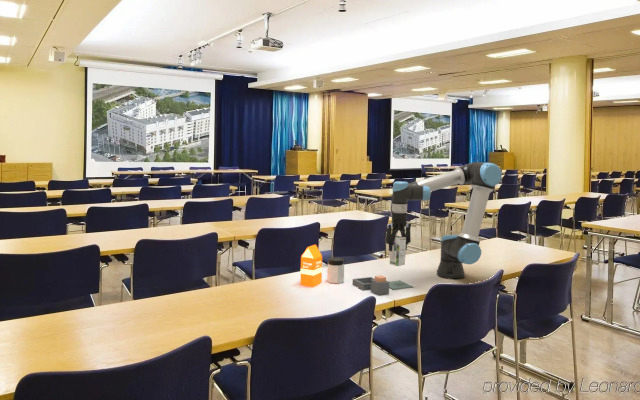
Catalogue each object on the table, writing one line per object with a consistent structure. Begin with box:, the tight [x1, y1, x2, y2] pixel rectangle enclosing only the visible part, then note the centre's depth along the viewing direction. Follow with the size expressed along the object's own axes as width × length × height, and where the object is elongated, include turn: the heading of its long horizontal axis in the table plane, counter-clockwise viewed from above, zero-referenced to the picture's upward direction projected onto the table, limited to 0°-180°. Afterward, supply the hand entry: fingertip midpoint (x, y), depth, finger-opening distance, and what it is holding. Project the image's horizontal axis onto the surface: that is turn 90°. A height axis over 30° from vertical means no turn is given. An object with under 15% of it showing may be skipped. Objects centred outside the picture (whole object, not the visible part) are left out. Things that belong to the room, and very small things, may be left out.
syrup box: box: [389, 235, 406, 267], centre depth 246 cm, size 6×6×14 cm
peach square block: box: [374, 275, 387, 282], centre depth 234 cm, size 4×4×4 cm
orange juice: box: [300, 244, 323, 288], centre depth 246 cm, size 8×9×20 cm
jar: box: [326, 256, 345, 284], centre depth 252 cm, size 9×8×12 cm
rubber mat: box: [389, 279, 414, 291], centre depth 248 cm, size 12×12×1 cm
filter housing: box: [352, 276, 390, 296], centre depth 240 cm, size 11×21×6 cm, turn 25°
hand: (397, 256), depth 246 cm, fingers closed on syrup box, 6 cm apart
